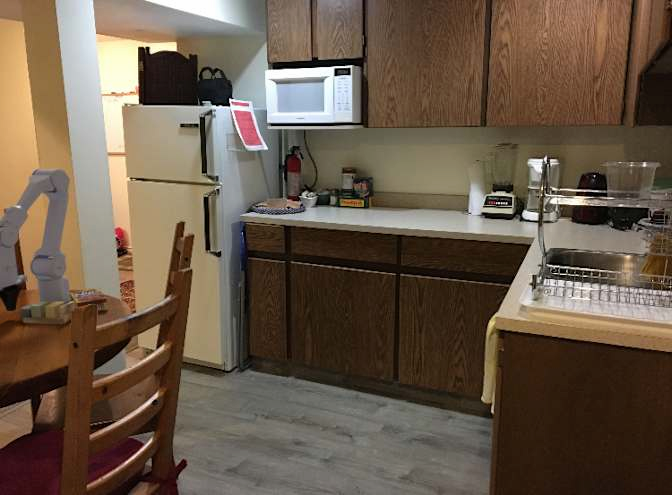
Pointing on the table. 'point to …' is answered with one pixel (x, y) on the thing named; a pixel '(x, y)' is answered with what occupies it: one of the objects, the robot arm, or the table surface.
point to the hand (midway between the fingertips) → (11, 310)
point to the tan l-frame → (64, 317)
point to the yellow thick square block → (53, 309)
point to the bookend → (26, 311)
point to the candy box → (89, 298)
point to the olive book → (39, 309)
